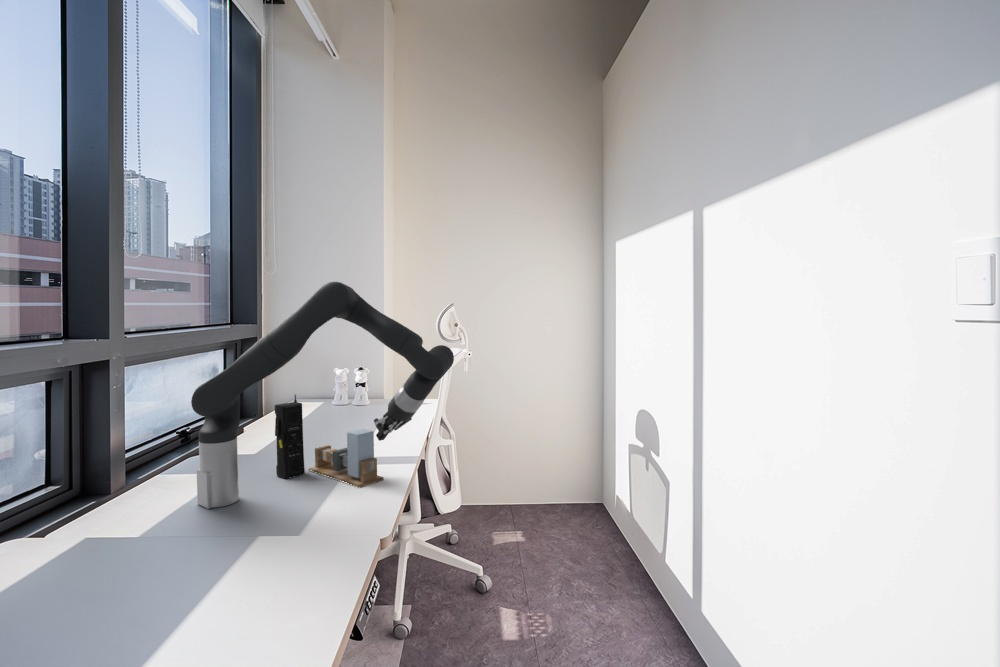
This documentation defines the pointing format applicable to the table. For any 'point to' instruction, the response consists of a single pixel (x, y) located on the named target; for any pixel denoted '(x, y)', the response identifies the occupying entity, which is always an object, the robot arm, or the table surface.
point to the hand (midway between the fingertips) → (379, 437)
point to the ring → (338, 459)
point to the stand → (342, 475)
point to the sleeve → (359, 449)
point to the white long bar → (328, 457)
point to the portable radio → (289, 439)
